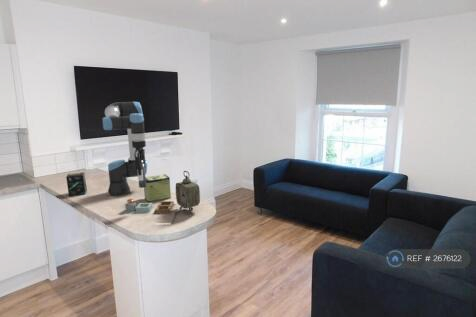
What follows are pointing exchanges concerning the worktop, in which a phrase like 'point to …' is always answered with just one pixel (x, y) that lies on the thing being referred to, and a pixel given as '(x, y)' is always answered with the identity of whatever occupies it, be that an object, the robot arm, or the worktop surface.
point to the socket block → (139, 208)
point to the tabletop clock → (187, 193)
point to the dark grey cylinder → (143, 182)
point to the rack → (164, 207)
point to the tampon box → (76, 184)
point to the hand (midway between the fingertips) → (141, 179)
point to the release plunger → (130, 201)
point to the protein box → (157, 188)
